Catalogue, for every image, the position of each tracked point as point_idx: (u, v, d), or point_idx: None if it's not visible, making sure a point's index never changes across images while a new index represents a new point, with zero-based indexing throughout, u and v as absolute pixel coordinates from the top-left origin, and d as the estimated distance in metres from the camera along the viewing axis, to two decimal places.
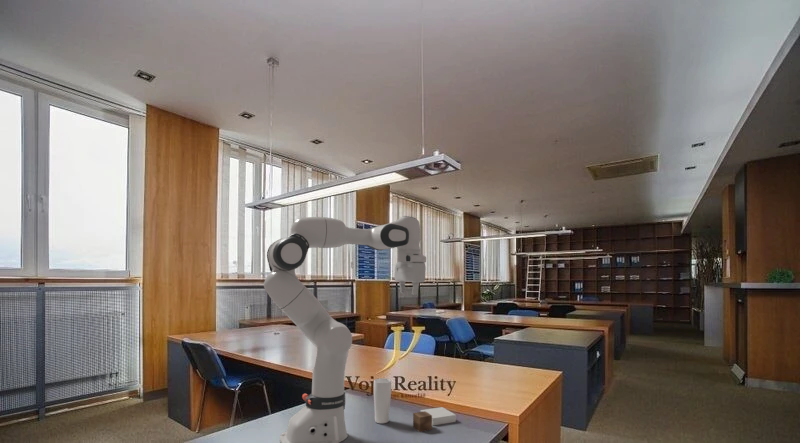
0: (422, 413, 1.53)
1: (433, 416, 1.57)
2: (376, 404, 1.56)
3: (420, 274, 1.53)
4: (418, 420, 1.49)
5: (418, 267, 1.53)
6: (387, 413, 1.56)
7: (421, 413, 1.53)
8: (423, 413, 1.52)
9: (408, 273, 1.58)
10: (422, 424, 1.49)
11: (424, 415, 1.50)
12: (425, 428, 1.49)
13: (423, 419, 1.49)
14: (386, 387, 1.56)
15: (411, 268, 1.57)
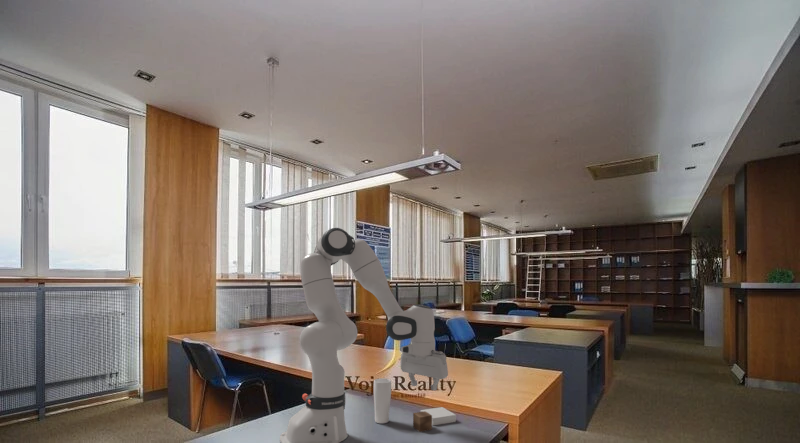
0: (422, 413, 1.53)
1: (433, 416, 1.57)
2: (376, 404, 1.56)
3: None
4: (418, 420, 1.49)
5: None
6: (387, 413, 1.56)
7: (421, 413, 1.53)
8: (423, 413, 1.52)
9: None
10: (422, 424, 1.49)
11: (424, 415, 1.50)
12: (425, 428, 1.49)
13: (423, 419, 1.49)
14: (386, 387, 1.56)
15: None
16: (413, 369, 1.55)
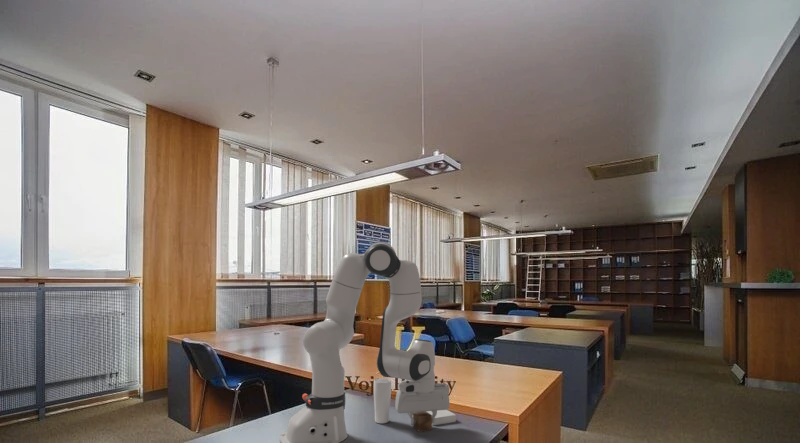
0: (422, 413, 1.53)
1: None
2: (376, 404, 1.56)
3: (396, 403, 1.50)
4: (418, 420, 1.49)
5: (397, 395, 1.51)
6: (387, 413, 1.56)
7: (421, 412, 1.53)
8: (423, 413, 1.52)
9: None
10: (422, 424, 1.49)
11: (424, 415, 1.50)
12: (425, 428, 1.49)
13: (423, 419, 1.49)
14: (386, 387, 1.56)
15: None
16: (415, 407, 1.50)
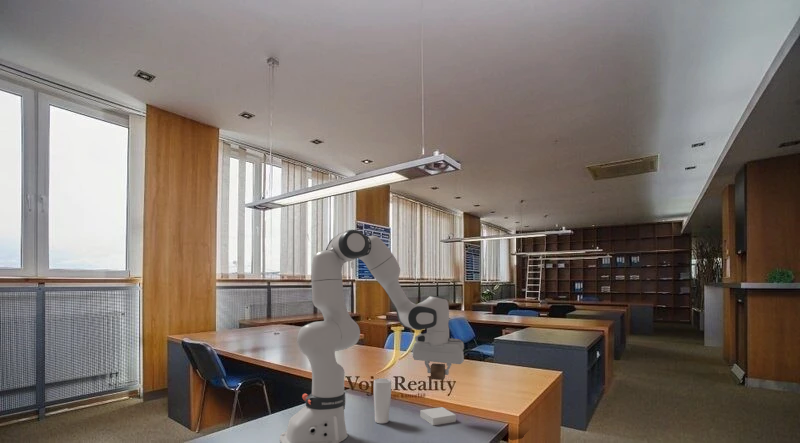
0: (439, 364, 1.64)
1: (433, 416, 1.57)
2: (376, 404, 1.56)
3: None
4: None
5: None
6: (387, 413, 1.56)
7: (439, 364, 1.64)
8: (439, 364, 1.63)
9: None
10: (433, 373, 1.61)
11: (437, 365, 1.62)
12: (436, 377, 1.60)
13: (434, 368, 1.61)
14: (386, 387, 1.56)
15: None
16: (428, 356, 1.63)
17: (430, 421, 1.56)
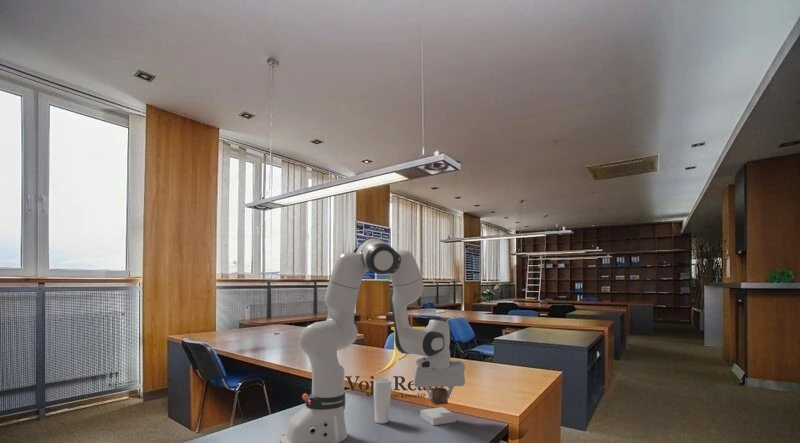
0: (439, 388, 1.62)
1: (433, 416, 1.57)
2: (376, 404, 1.56)
3: (413, 378, 1.61)
4: (434, 394, 1.59)
5: (414, 371, 1.62)
6: (387, 413, 1.56)
7: (438, 388, 1.63)
8: (440, 388, 1.62)
9: None
10: (438, 398, 1.59)
11: (440, 390, 1.60)
12: (441, 402, 1.59)
13: (439, 393, 1.59)
14: (386, 387, 1.56)
15: None
16: (431, 382, 1.60)
17: (430, 421, 1.56)
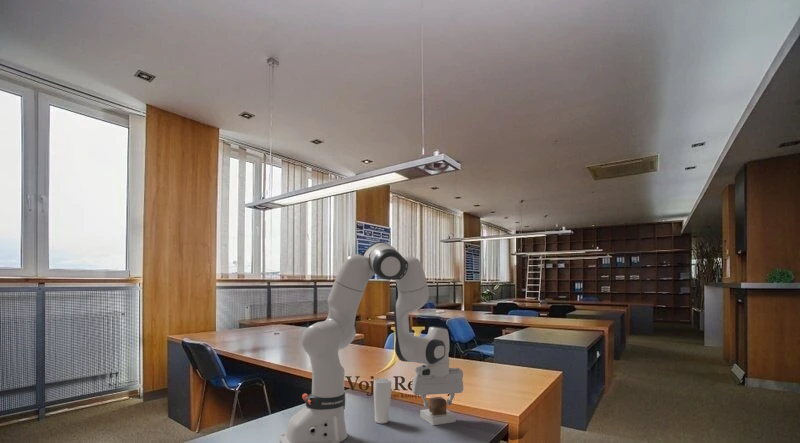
0: (437, 398, 1.62)
1: (433, 416, 1.57)
2: (376, 404, 1.56)
3: (413, 386, 1.60)
4: (433, 404, 1.59)
5: (414, 379, 1.61)
6: (387, 413, 1.56)
7: (437, 398, 1.63)
8: (439, 398, 1.62)
9: None
10: (437, 408, 1.58)
11: (439, 400, 1.60)
12: (440, 412, 1.59)
13: (438, 403, 1.59)
14: (386, 387, 1.56)
15: None
16: (430, 389, 1.60)
17: (430, 421, 1.56)
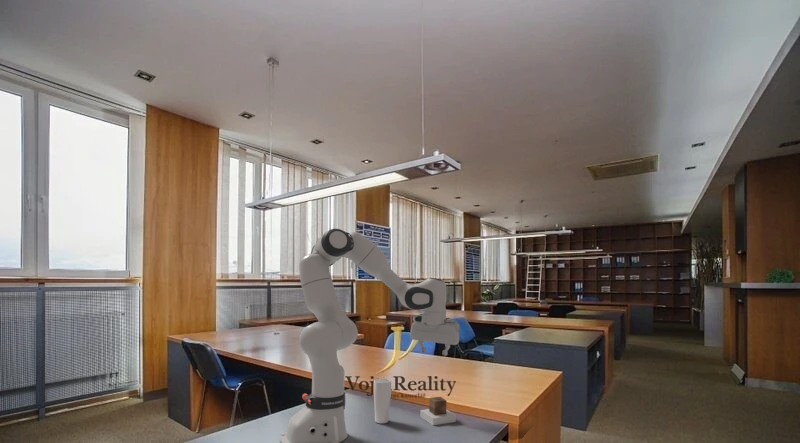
0: (437, 398, 1.62)
1: (433, 416, 1.57)
2: (376, 404, 1.56)
3: None
4: (433, 404, 1.59)
5: None
6: (387, 413, 1.56)
7: (437, 398, 1.63)
8: (439, 398, 1.62)
9: None
10: (437, 408, 1.58)
11: (439, 400, 1.60)
12: (440, 412, 1.59)
13: (438, 403, 1.59)
14: (386, 387, 1.56)
15: None
16: (424, 336, 1.67)
17: (430, 421, 1.56)
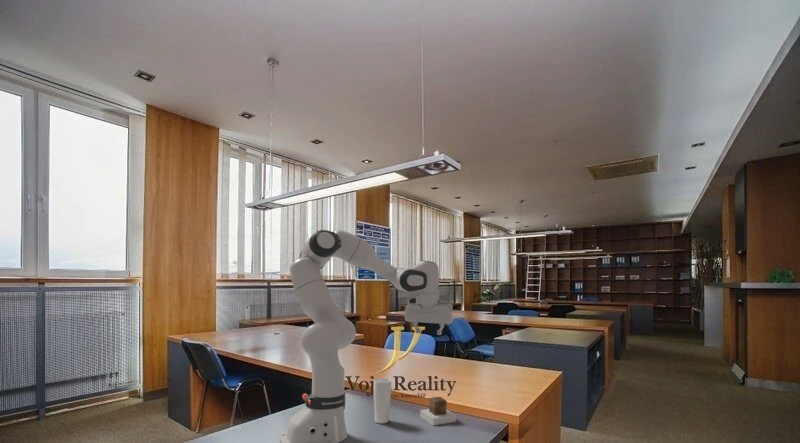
0: (437, 398, 1.62)
1: (433, 416, 1.57)
2: (376, 404, 1.56)
3: None
4: (433, 404, 1.59)
5: None
6: (387, 413, 1.56)
7: (437, 398, 1.63)
8: (439, 398, 1.62)
9: None
10: (437, 408, 1.58)
11: (439, 400, 1.60)
12: (440, 412, 1.59)
13: (438, 403, 1.59)
14: (386, 387, 1.56)
15: None
16: (419, 317, 1.72)
17: (430, 421, 1.56)
